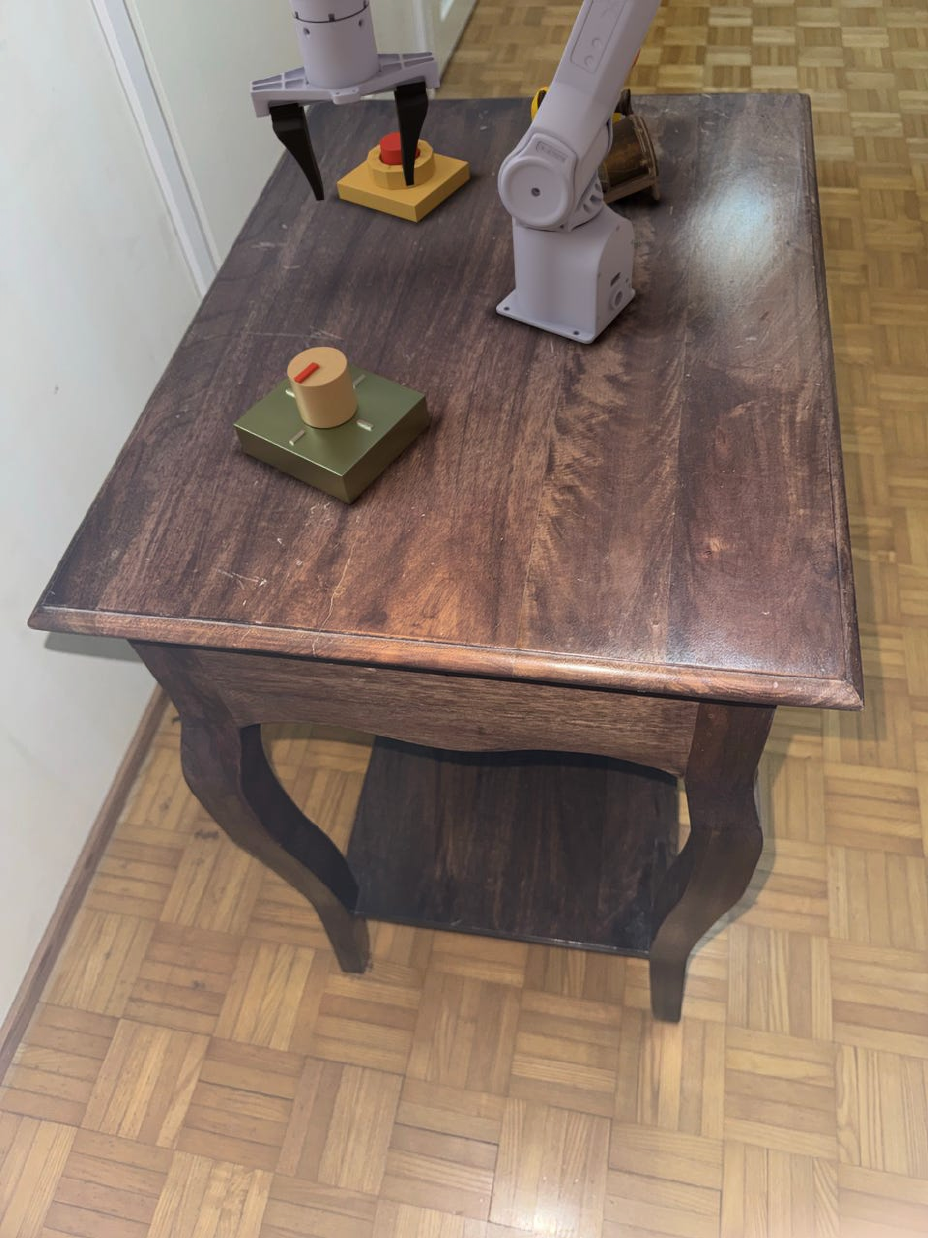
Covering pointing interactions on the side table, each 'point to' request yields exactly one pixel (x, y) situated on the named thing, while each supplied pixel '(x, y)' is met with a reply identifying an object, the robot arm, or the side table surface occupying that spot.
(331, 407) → the knob
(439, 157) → the housing
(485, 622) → the side table surface
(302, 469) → the panel
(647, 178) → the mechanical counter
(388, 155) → the button
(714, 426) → the side table surface
